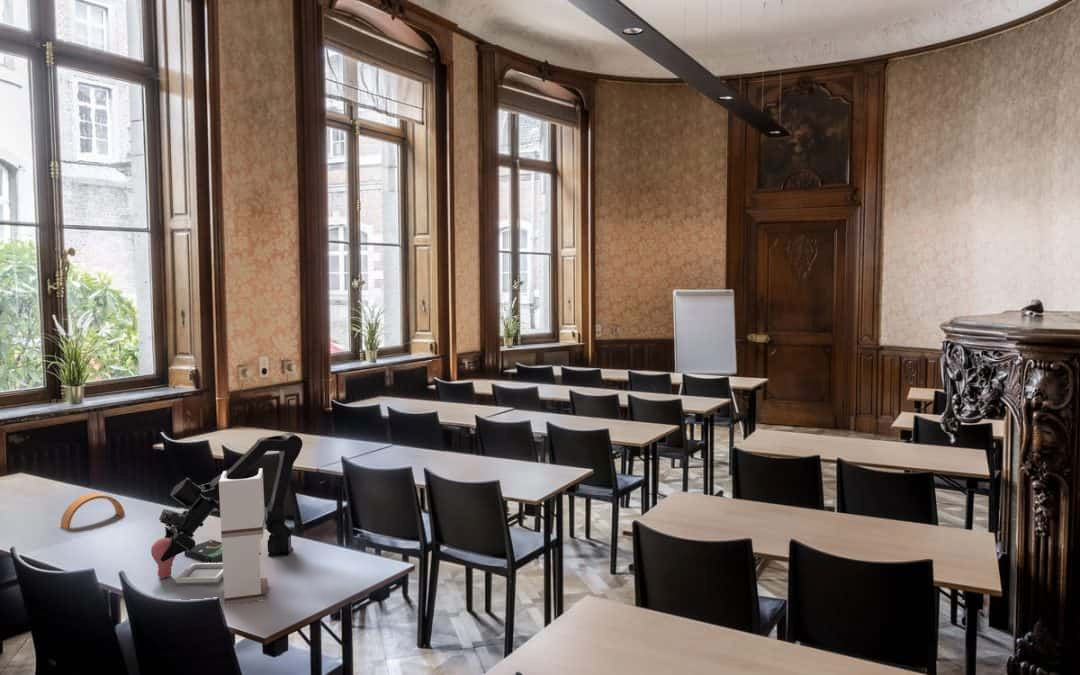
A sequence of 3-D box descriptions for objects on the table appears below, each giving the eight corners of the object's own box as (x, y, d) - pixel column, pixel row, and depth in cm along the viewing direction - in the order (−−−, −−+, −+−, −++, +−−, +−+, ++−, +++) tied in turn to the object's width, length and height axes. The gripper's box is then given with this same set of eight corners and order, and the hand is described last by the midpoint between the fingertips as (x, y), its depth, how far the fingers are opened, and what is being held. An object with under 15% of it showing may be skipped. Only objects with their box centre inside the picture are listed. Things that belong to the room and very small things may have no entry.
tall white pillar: (265, 600, 216) (260, 478, 213) (224, 605, 213) (218, 481, 210) (267, 584, 227) (262, 468, 224) (228, 589, 224) (223, 471, 221)
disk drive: (183, 557, 251) (212, 565, 243) (183, 549, 251) (212, 556, 243) (211, 547, 260) (240, 555, 252) (211, 539, 260) (240, 546, 252)
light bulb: (184, 574, 235) (182, 536, 234) (164, 583, 229) (161, 544, 227) (167, 570, 238) (165, 533, 237) (147, 579, 232) (145, 540, 230)
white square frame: (232, 569, 239) (231, 562, 239) (217, 585, 227) (216, 578, 227) (192, 570, 238) (192, 563, 238) (175, 586, 227) (175, 578, 226)
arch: (125, 516, 292) (123, 490, 291) (66, 530, 276) (65, 503, 275) (118, 513, 295) (116, 487, 294) (60, 527, 280) (58, 500, 279)
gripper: (171, 492, 241) (133, 533, 236) (181, 507, 226) (141, 552, 221) (199, 512, 246) (163, 553, 241) (211, 528, 231) (173, 572, 226)
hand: (159, 557), depth 232 cm, fingers closed on light bulb, 7 cm apart
